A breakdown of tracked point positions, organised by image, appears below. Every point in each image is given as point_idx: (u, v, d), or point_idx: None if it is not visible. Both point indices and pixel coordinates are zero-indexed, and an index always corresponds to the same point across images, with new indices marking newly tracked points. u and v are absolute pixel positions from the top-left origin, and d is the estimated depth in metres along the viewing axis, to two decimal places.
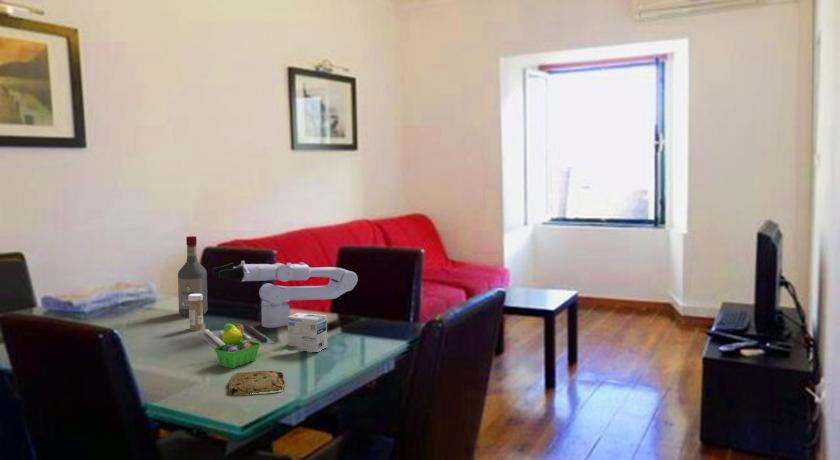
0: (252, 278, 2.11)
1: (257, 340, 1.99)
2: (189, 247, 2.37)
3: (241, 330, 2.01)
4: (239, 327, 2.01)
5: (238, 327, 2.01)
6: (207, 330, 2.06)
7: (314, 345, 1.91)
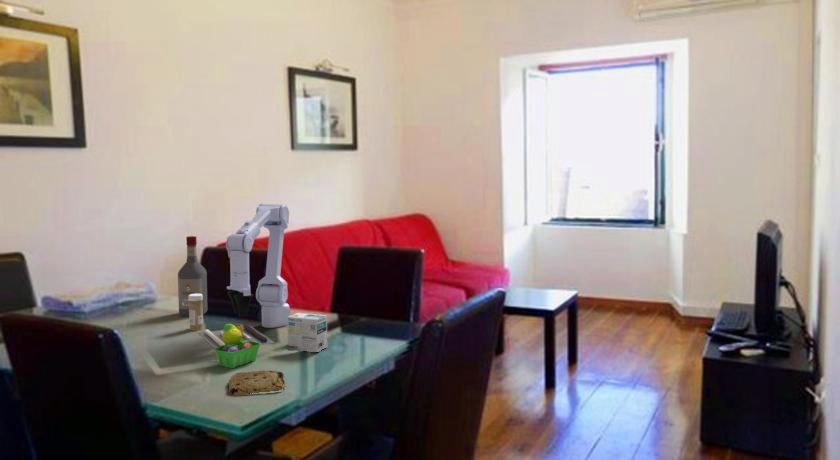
0: (247, 278, 1.94)
1: (257, 340, 1.99)
2: (189, 247, 2.37)
3: (241, 330, 2.01)
4: (239, 327, 2.01)
5: (238, 327, 2.01)
6: (207, 330, 2.06)
7: (314, 345, 1.91)
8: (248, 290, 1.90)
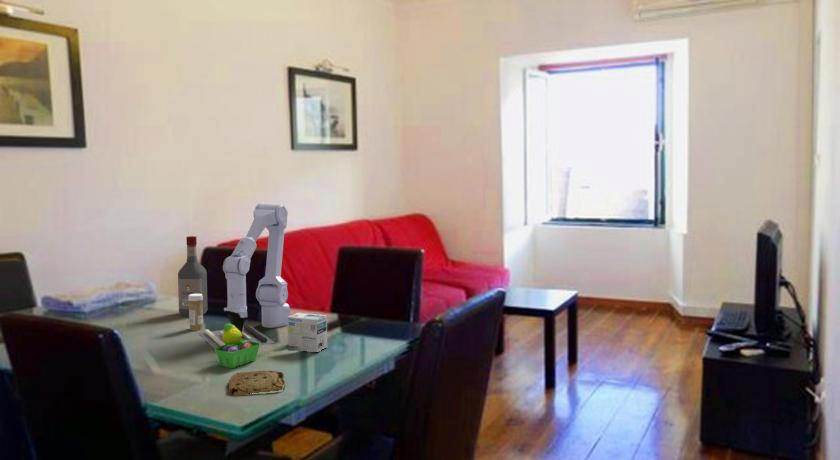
0: (244, 300, 1.98)
1: (257, 340, 1.99)
2: (189, 247, 2.37)
3: None
4: None
5: None
6: (207, 330, 2.06)
7: (314, 345, 1.91)
8: (245, 312, 1.93)
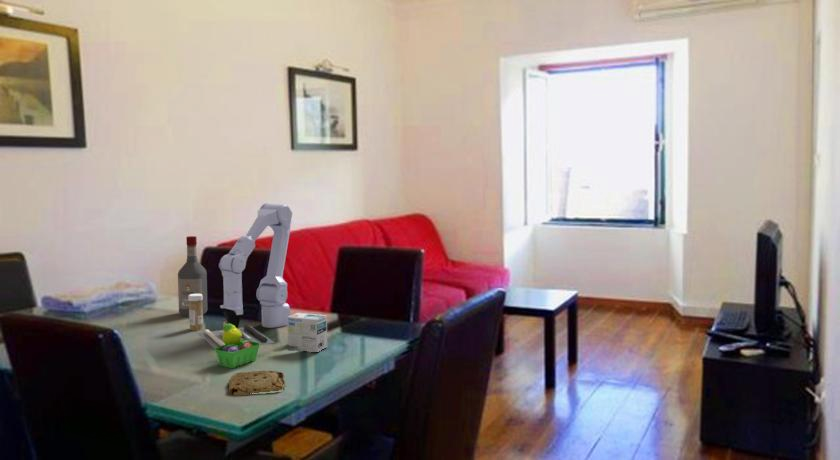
0: (240, 297, 2.02)
1: (257, 340, 1.99)
2: (189, 247, 2.37)
3: None
4: None
5: None
6: (207, 330, 2.06)
7: (314, 345, 1.91)
8: (240, 309, 1.97)
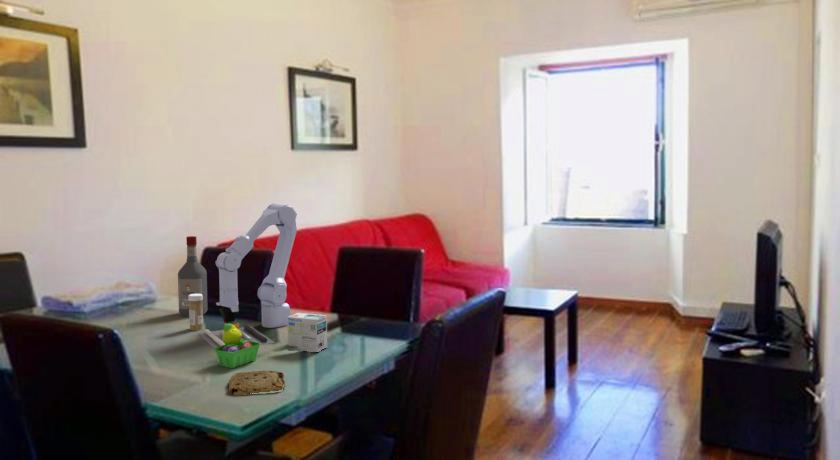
0: (235, 295, 2.06)
1: (257, 340, 1.99)
2: (189, 247, 2.37)
3: (237, 327, 2.05)
4: (235, 324, 2.04)
5: (234, 324, 2.04)
6: (207, 330, 2.06)
7: (314, 345, 1.91)
8: (236, 306, 2.01)
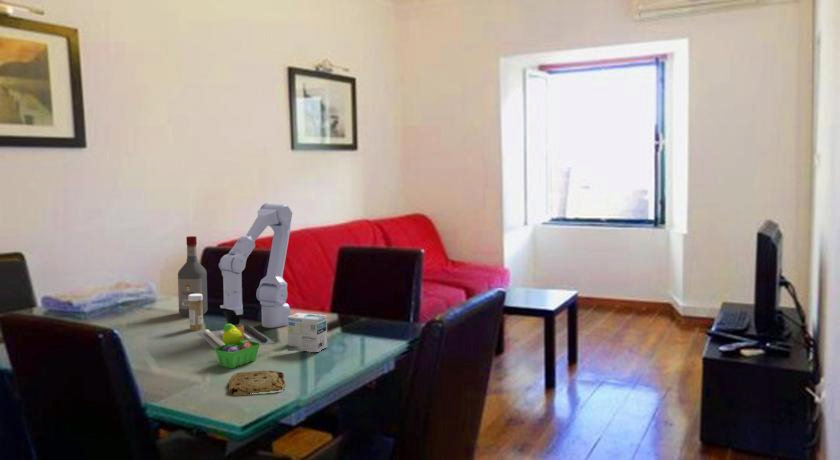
0: (240, 297, 2.02)
1: (257, 340, 1.99)
2: (189, 247, 2.37)
3: (242, 331, 2.01)
4: (240, 328, 2.00)
5: (239, 328, 2.00)
6: (207, 330, 2.06)
7: (314, 345, 1.91)
8: (240, 309, 1.97)
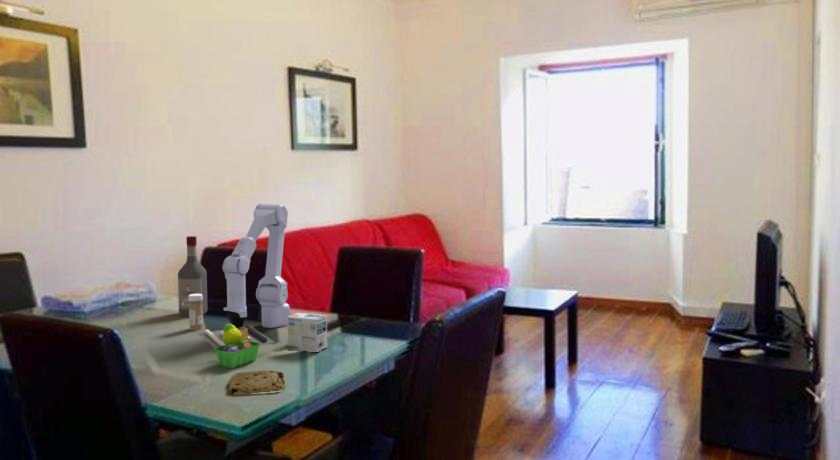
0: (244, 299, 1.98)
1: (257, 340, 1.99)
2: (189, 247, 2.37)
3: (246, 333, 1.97)
4: (244, 330, 1.97)
5: (243, 330, 1.97)
6: (207, 330, 2.06)
7: (314, 345, 1.91)
8: (244, 312, 1.94)
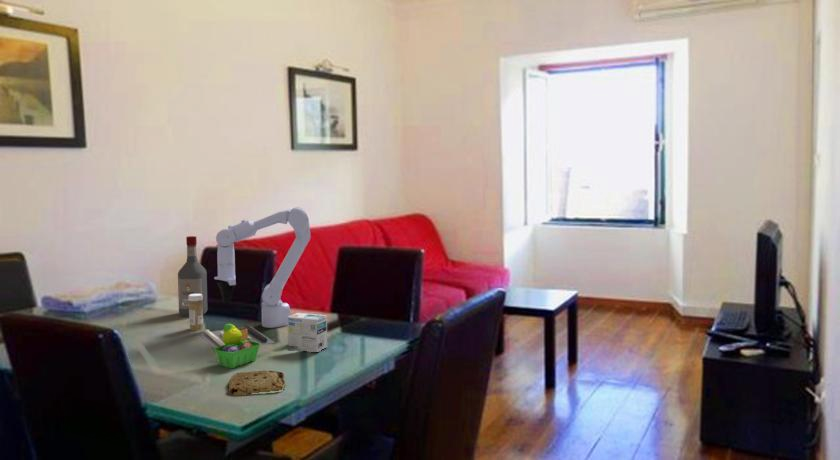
0: (233, 269, 2.14)
1: (257, 340, 1.99)
2: (189, 247, 2.37)
3: (246, 333, 1.97)
4: (244, 330, 1.97)
5: (243, 330, 1.97)
6: (207, 330, 2.06)
7: (314, 345, 1.91)
8: (233, 280, 2.09)
